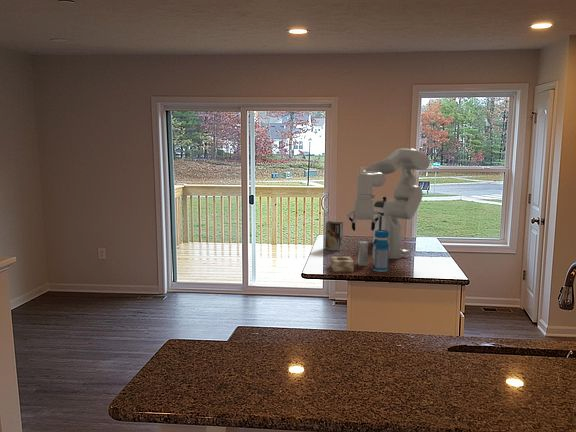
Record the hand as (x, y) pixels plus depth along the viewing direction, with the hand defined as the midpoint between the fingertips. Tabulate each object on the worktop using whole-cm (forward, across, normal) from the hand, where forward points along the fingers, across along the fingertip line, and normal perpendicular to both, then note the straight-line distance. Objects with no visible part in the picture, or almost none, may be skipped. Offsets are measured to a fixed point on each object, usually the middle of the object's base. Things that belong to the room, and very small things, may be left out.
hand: (363, 230), depth 261 cm
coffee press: (+19, -21, -48) cm, 56 cm away
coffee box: (+19, +10, -35) cm, 41 cm away
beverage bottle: (+18, -7, +10) cm, 22 cm away
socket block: (+18, +12, +8) cm, 23 cm away
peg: (+18, 0, 0) cm, 18 cm away
